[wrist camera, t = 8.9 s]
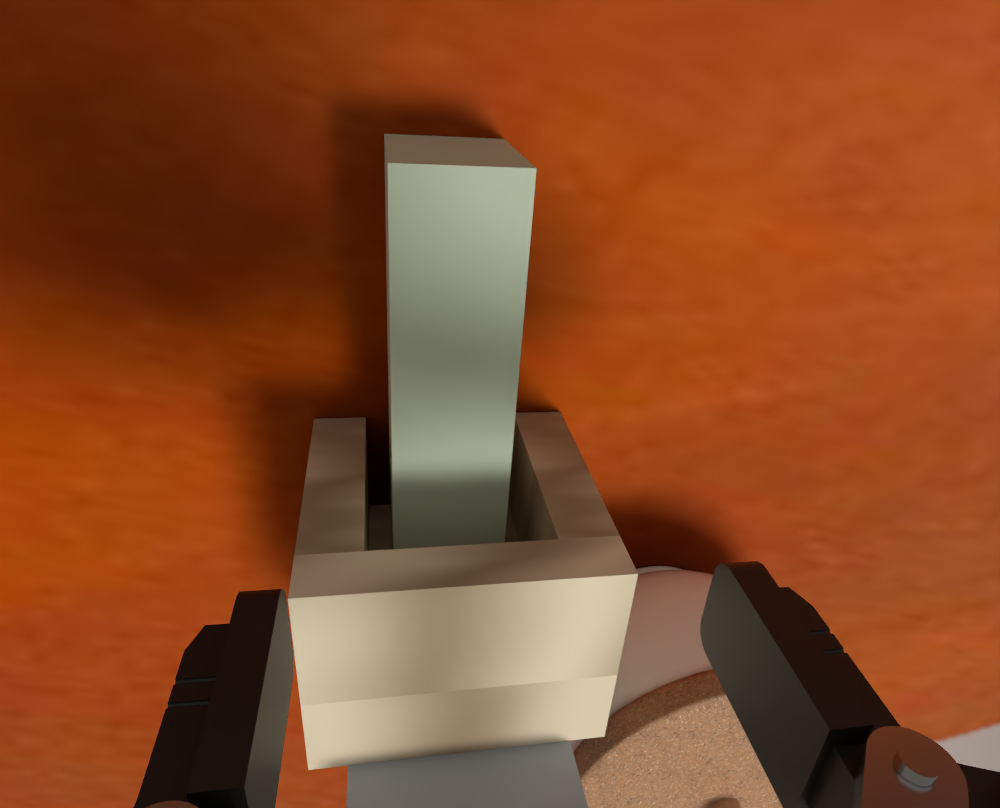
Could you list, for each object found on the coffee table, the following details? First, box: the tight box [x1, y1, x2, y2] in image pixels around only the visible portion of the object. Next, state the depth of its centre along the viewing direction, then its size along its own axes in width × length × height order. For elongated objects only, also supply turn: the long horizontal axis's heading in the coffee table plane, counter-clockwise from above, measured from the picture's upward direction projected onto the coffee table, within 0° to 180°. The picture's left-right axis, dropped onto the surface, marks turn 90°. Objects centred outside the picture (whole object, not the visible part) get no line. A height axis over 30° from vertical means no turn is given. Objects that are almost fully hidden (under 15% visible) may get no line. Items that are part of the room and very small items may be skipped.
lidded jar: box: [570, 566, 783, 808], centre depth 25 cm, size 11×11×9 cm
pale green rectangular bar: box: [384, 134, 537, 549], centre depth 19 cm, size 3×12×4 cm, turn 176°
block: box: [288, 412, 638, 770], centre depth 20 cm, size 8×6×8 cm
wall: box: [347, 741, 588, 808], centre depth 21 cm, size 6×2×10 cm, turn 86°
